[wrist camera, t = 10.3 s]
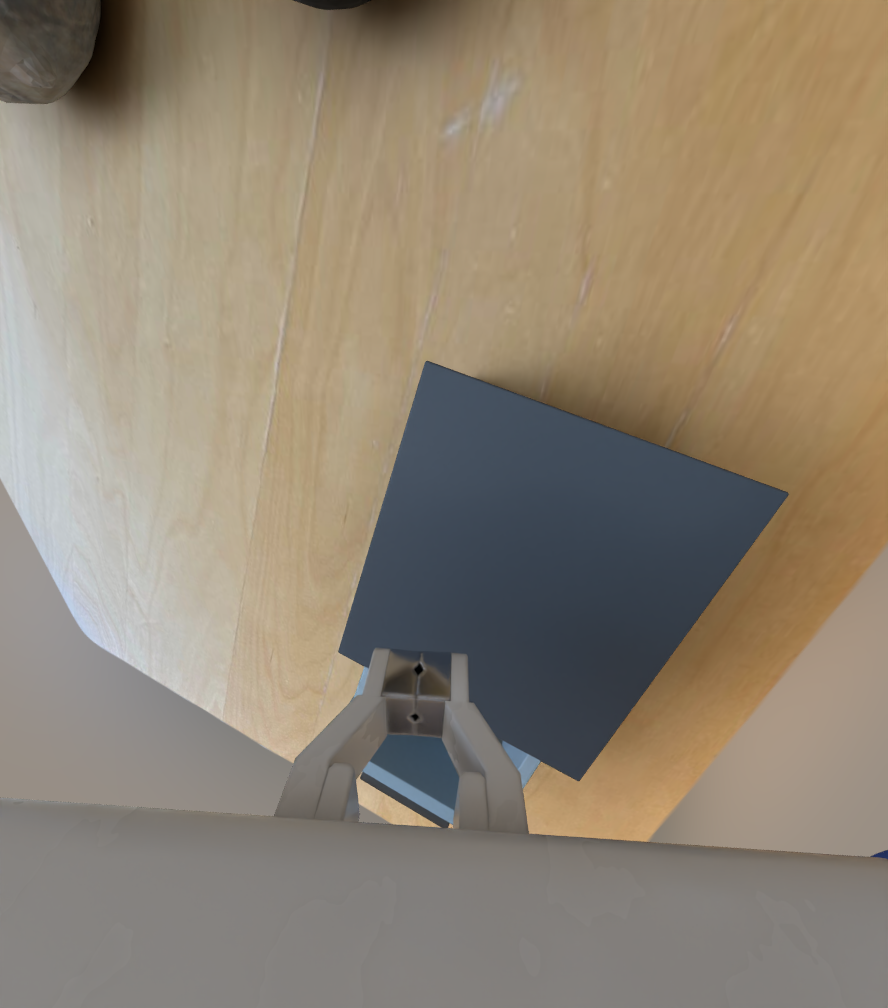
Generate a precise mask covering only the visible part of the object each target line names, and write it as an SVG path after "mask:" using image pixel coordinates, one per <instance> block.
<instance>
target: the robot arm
mask: <svg viewBox="0 0 888 1008" xmlns="http://www.w3.org/2000/svg"><path fill="white" fill-rule="evenodd" d="M387 734H389V735H415V736H425V737H435V738H442V741H443V743H444V745H445V747H446V749H447V752H448V754H449V756H450V758H451V760H452V762H453V765H454V767H455V769H456V771H457V773H458V775H459V784H458V791H457V798H456V804H455V811H454V818H453V829H452V828H437V827H423V826H408V825H393V824H379V823H364V822H363V823H362V822H358V821H359V815H360V813H359V804H358V795H357V786H356V779H357V778H358V776H359V775H360V774H361V772H362V771H363V769H364V768H365V766H366V765H367V764H368V762H369V761H370V759H371V758H372V757H373V755H374V754H375V752H376V751H377V750H378V748H379V747H380V745H381V744H382V743H383V741H384V740H385V738H386V737H387ZM0 1008H888V859H884V858H876V857H863V856H862V857H861V856H844V855H829V854H815V853H801V852H787V851H772V850H757V849H742V848H728V847H714V846H698V845H685V844H669V843H656V842H655V843H654V842H641V841H627V840H612V839H598V838H583V837H569V836H554V835H539V834H529V831H528V824H527V817H526V809H525V802H524V795H523V788H522V781H521V774H520V772H519V771H518V769H517V768H516V766H515V765H514V763H513V762H512V760H511V759H510V757H509V756H508V754H507V753H506V751H505V750H504V748H503V746H502V745H501V743H500V742H499V740H498V739H497V737H496V736H495V734H494V733H493V731H492V730H491V728H490V727H489V725H488V724H487V722H486V721H485V719H484V717H483V716H482V714H481V713H480V711H479V710H478V708H477V707H476V705H475V704H474V703H471V702H469V681H468V656H467V654H460V653H451V652H431V651H421V652H420V651H409V650H398V649H387V648H375V649H374V651H373V654H372V658H371V662H370V666H369V670H368V674H367V678H366V682H365V686H364V689H363V693H362V695H357V696H356V697H355V698H354V699H353V700H352V701H351V702H350V703H349V704H348V705H347V706H346V707H345V708H344V709H343V710H342V711H341V712H340V713H339V714H338V715H337V716H336V717H335V718H334V719H333V720H332V721H331V722H330V723H329V724H328V725H327V726H326V728H325V729H324V730H323V731H322V732H321V733H320V734H319V735H318V736H317V737H316V738H315V739H314V740H313V741H312V742H311V743H310V744H309V745H308V746H307V747H306V748H305V749H304V750H303V751H302V752H301V753H300V754H299V755H298V756H297V757H296V758H295V761H294V764H293V766H292V769H291V772H290V775H289V777H288V780H287V782H286V785H285V788H284V790H283V793H282V796H281V799H280V801H279V804H278V807H277V809H276V812H275V814H274V816H260V815H247V814H231V813H217V812H203V811H188V810H173V809H159V808H144V807H129V806H115V805H101V804H85V803H71V802H70V803H69V802H57V801H41V800H27V799H13V798H0Z"/></svg>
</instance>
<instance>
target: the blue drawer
mask: <svg viewBox="0 0 888 1008" xmlns="http://www.w3.org/2000/svg"><path fill="white" fill-rule="evenodd" d="M368 670H369V669H368V668H366V667H364V670H363V672H362V675H361V678H360V681H359V684H358V687H357V690H356V693H355V695H354V697H353V698H352V700H353V699H354V698H355V697H356V696H357V695H362V693H363V689H364V686H365V682H366V678H367V674H368ZM352 700H351V701H352ZM351 701H350V702H351ZM497 739H498V740H499V742H500V743H501V745H502V746H503V748H504V750H505V751H506V753H507V754H508V756H509V757H510V759H511V760H512V762H513V763H514V765H515V766H516V768H517V769H518V771H519V772H520V774H521V781H522V788H524V787H525V785H526V784H527V782H528V780H529V779H530V777H531V776H532V774H533V773H534V771H535V770H536V768H537V767H538V765H539V764H540V762H541V761H540V760H538V759H536V758H534V757H532V756H530V755H529V754H527V753H525V752H523V751H521V750H519V749H517V748H516V747H514V746H512V745H510V744H508V743H506V742H504V741H502V740H501V739H499V738H497ZM360 779H361V780H363V781H365V782H366V783H368V784H370V785H371V786H373V787H375V788H376V789H378V790H380V791H381V792H383V793H385V794H386V795H388V796H390V797H391V798H393V799H395V800H396V801H398V802H400V803H401V804H403V805H405V806H406V807H408V808H410V809H412V810H413V811H415V812H417V813H418V814H420V815H422V816H423V817H425V818H427V819H428V820H430V821H432V822H433V823H435V824H437V825H438V826H440V827H442V828H448V826H449V823H451V824H452V825H453V818H454V811H455V804H456V798H457V791H458V784H459V775H458V773H457V771H456V769H455V767H454V765H453V762H452V760H451V758H450V756H449V754H448V752H447V749H446V747H445V745H444V743H443V741H442V738H435V737H425V736H415V735H389V734H387V737H386V738H385V740H384V741H383V743H382V744H381V745H380V747H379V748H378V750H377V751H376V752H375V754H374V755H373V757H372V758H371V759H370V761H369V762H368V764H367V765H366V766H365V768H364V769H363V772H362V774H361V777H360Z"/></svg>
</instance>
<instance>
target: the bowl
mask: <svg viewBox="0 0 888 1008" xmlns="http://www.w3.org/2000/svg"><path fill="white" fill-rule="evenodd" d="M100 15H101V9H100V0H0V100H1V101H4V102H6V103H29V104H48V103H52V102H54V101H56V100H58V99H59V98H61V97H62V96H63V95H65V94H66V93H67V92H68V91H69V90H70V89H71V87H72V86H73V85H74V83H75V82H76V81H77V79H78V78H79V76H80V75H81V73H82V72H83V70H84V69H85V68H86V66H87V65H88V64H89V61H90V59H91V58H92V54H93V49H94V44H95V39H96V35H97V32H98V29H99V23H100Z"/></svg>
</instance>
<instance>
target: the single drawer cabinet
mask: <svg viewBox="0 0 888 1008" xmlns="http://www.w3.org/2000/svg"><path fill="white" fill-rule="evenodd" d="M788 495H789V493H788V492H785V491H783V490H780V489H777V488H775V487H772V486H769V485H766V484H764V483H761V482H758V481H755V480H753V479H750V478H747V477H744V476H742V475H739V474H736V473H733V472H731V471H728V470H725V469H722V468H720V467H717V466H714V465H711V464H709V463H706V462H703V461H701V460H698V459H695V458H692V457H690V456H687V455H684V454H681V453H679V452H676V451H673V450H670V449H668V448H665V447H662V446H659V445H657V444H654V443H651V442H648V441H646V440H643V439H640V438H638V437H635V436H632V435H629V434H627V433H624V432H621V431H618V430H616V429H613V428H610V427H607V426H605V425H602V424H599V423H596V422H594V421H591V420H588V419H585V418H583V417H580V416H577V415H575V414H572V413H569V412H566V411H564V410H561V409H558V408H555V407H553V406H550V405H547V404H544V403H542V402H539V401H536V400H533V399H531V398H528V397H525V396H522V395H520V394H517V393H514V392H511V391H509V390H506V389H503V388H501V387H498V386H495V385H492V384H490V383H487V382H484V381H481V380H479V379H476V378H473V377H470V376H468V375H465V374H462V373H459V372H457V371H454V370H451V369H448V368H446V367H443V366H440V365H438V364H435V363H432V362H429V361H426V362H425V365H424V368H423V371H422V375H421V378H420V381H419V384H418V388H417V391H416V394H415V398H414V401H413V404H412V408H411V411H410V414H409V418H408V421H407V424H406V428H405V431H404V434H403V438H402V441H401V444H400V448H399V451H398V454H397V458H396V461H395V464H394V468H393V471H392V474H391V478H390V481H389V484H388V488H387V491H386V494H385V498H384V501H383V504H382V508H381V511H380V514H379V518H378V521H377V524H376V528H375V531H374V534H373V537H372V541H371V544H370V547H369V551H368V554H367V557H366V561H365V564H364V567H363V571H362V574H361V577H360V581H359V584H358V587H357V591H356V594H355V597H354V601H353V604H352V607H351V611H350V614H349V617H348V621H347V624H346V627H345V631H344V634H343V637H342V641H341V644H340V647H339V651H338V652H339V653H340V654H342V655H344V656H346V657H348V658H350V659H351V660H353V661H355V662H357V663H359V664H361V665H363V666H365V667H366V668H368V669H369V666H370V662H371V658H372V654H373V651H374V649H375V648H387V649H398V650H409V651H420V652H421V651H431V652H451V653H460V654H467V656H468V681H469V702H471V703H474V704H475V705H476V707H477V708H478V710H479V711H480V713H481V714H482V716H483V717H484V719H485V721H486V722H487V724H488V725H489V727H490V728H491V730H492V731H493V733H494V734H495V736H496V737H497V738H499V739H501V740H502V741H504V742H506V743H508V744H510V745H512V746H514V747H516V748H517V749H519V750H521V751H523V752H525V753H527V754H529V755H530V756H532V757H534V758H536V759H538V760H540V761H542V762H543V763H545V764H547V765H549V766H551V767H553V768H555V769H557V770H558V771H560V772H562V773H564V774H566V775H568V776H570V777H571V778H573V779H575V780H577V781H580V780H581V778H582V777H583V775H584V774H585V773H586V771H587V770H588V769H589V767H590V766H591V765H592V763H593V762H594V760H595V759H596V758H597V756H598V755H599V754H600V752H601V751H602V750H603V748H604V747H605V745H606V744H607V743H608V741H609V740H610V739H611V737H612V736H613V734H614V733H615V732H616V730H617V729H618V728H619V726H620V725H621V724H622V722H623V721H624V719H625V718H626V717H627V715H628V714H629V713H630V711H631V710H632V708H633V707H634V706H635V704H636V703H637V702H638V700H639V699H640V698H641V696H642V695H643V693H644V692H645V691H646V689H647V688H648V687H649V685H650V684H651V682H652V681H653V680H654V678H655V677H656V676H657V674H658V673H659V672H660V670H661V669H662V667H663V666H664V665H665V663H666V662H667V661H668V659H669V658H670V656H671V655H672V654H673V652H674V651H675V650H676V648H677V647H678V646H679V644H680V643H681V641H682V640H683V639H684V637H685V636H686V635H687V633H688V632H689V631H690V629H691V628H692V626H693V625H694V624H695V622H696V621H697V620H698V618H699V617H700V615H701V614H702V613H703V611H704V610H705V609H706V607H707V606H708V605H709V603H710V602H711V600H712V599H713V598H714V596H715V595H716V594H717V592H718V591H719V589H720V588H721V587H722V585H723V584H724V583H725V581H726V580H727V579H728V577H729V576H730V574H731V573H732V572H733V570H734V569H735V568H736V566H737V565H738V563H739V562H740V561H741V559H742V558H743V557H744V555H745V554H746V553H747V551H748V550H749V548H750V547H751V546H752V544H753V543H754V542H755V540H756V539H757V537H758V536H759V535H760V533H761V532H762V531H763V529H764V528H765V527H766V525H767V524H768V522H769V521H770V520H771V518H772V517H773V516H774V514H775V513H776V512H777V510H778V509H779V507H780V506H781V505H782V503H783V502H784V501H785V499H786V498H787V496H788Z"/></svg>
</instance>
